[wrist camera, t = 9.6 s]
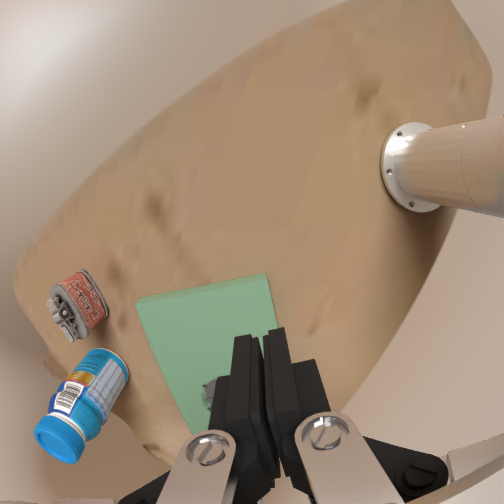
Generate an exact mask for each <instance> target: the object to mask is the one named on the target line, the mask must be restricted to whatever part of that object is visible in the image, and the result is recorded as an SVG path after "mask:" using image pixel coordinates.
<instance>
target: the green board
mask: <svg viewBox="0 0 504 504" xmlns="http://www.w3.org/2000/svg"><path fill="white" fill-rule="evenodd" d="M135 306H136V309H137V312H138V315H139V317H140V320H141V323H142V325H143V328H144V330H145V333H146V336H147V338H148V341H149V343H150V345H151V348H152V350H153V353H154V355H155V357H156V360H157V362H158V364H159V367H160V369H161V371H162V374H163V376H164V378H165V380H166V382H167V385H168V387H169V389H170V391H171V393H172V395H173V397H174V399H175V401H176V403H177V406H178V408H179V410H180V412H181V414H182V415H183V417H184V419H185V421H186V423H187V425H188V427H189V429H190V431H191V433H192V435H194V434H196V433H198V432H202V431H205V430H208V425H209V420H210V414H211V408H212V402H213V396H214V390H215V385H216V380H217V377H219V376H226V375H230V371H231V363H232V354H233V345H234V338H235V337H236V336H241V335H247V334H251V335H252V338H253V337H258V338H259V342H260V346H261V350H262V354H263V358H264V353H263V336H264V335H268V330H272V329H277V328H278V325H277V321H276V316H275V311H274V307H273V302H272V297H271V293H270V288H269V283H268V279H267V274H266V273H263V274H258V275H253V276H248V277H243V278H239V279H234V280H229V281H224V282H219V283H214V284H209V285H204V286H199V287H194V288H189V289H184V290H178V291H173V292H168V293H163V294H158V295H152V296H147V297H142V298H140V299H139V300H138V301H137V303H136V304H135Z"/></svg>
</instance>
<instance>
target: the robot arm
mask: <svg viewBox="0 0 504 504" xmlns="http://www.w3.org/2000/svg"><path fill="white" fill-rule="evenodd" d="M397 134H398V136H397ZM387 171H388V173H387ZM381 172H382V177H383V180H384V183H385V186H386V188H387V190H388V192H389V193H390V194H391V196H392V197H393V199H394V200H395V201H396V202H397V203H398V204H400V205H401V206H403V207H404V208H406V209H409V210H411V211H415V212H429V211H433V210H435V209H437V208H438V207H440V206H441V205H443V206H449V207H453V208H458V209H463V210H468V211H473V212H477V213H481V214H486V215H490V216H495V217H500V218H504V115H502V116H497V117H493V118H486V119H481V120H477V121H471V122H466V123H461V124H456V125H451V126H446V127H441V128H436V129H434V128H432V127H430V126H428V125H426V124H423V123H417V122H412V123H407V124H404V125H401V126H399V127H398V128H396V129H394V130H393V131H392V132H391V133H390V134H389V136H388V138H387V139H386V141H385V143H384V146H383V148H382V154H381ZM409 203H410V205H409ZM263 353H264V358H263V354H262V350H261V346H260V342H259V338H258V337H253V338H252V335H251V334H247V335H241V336H236V337H235V338H234V345H233V354H232V363H231V371H230V375H226V376H219V377H217V380H216V385H215V390H214V396H213V402H212V408H211V414H210V420H209V425H208V430H205V431H202V432H198V433H196V434H194V435H193V436H191V437H190V438H188V439H187V440H186V441H185V442H184V444H183V445H182V447H181V449H180V451H179V453H178V456H177V458H176V460H175V462H174V465H173V467H172V469H171V470H170V471H168V472H166V473H165V474H163V475H162V476H160V477H158V478H157V479H155V480H153V481H152V482H150V483H148V484H147V485H145V486H143V487H142V488H140V489H138V490H136V491H134V492H133V493H131V494H129V495H127V496H126V497H124V498H123V499H121V500H120V501H118V502H117V501H116V500H115V499H79V498H59V499H57V500H55V501H54V502H53V503H52V504H262V497H264V496H265V495H266V494H267V493H268V492H269V491H270V488H275V481H274V479H275V478H280V477H281V473H280V461H279V457H280V460H281V463H282V466H283V469H284V472H285V475H286V477H288V476H290V478H291V481H292V484H293V487H294V488H296V489H298V490H300V491H302V492H304V493H305V494H307V495H308V498H309V501H310V504H504V433H503V434H500V435H498V436H495V437H492V438H490V439H487V440H484V441H482V442H479V443H476V444H473V445H469V446H466V447H463V448H460V449H456V450H453V451H449V452H448V454H447V455H446V456H443V457H436V456H434V455H431V454H426V453H422V452H418V451H414V450H410V449H406V448H402V447H398V446H395V445H391V444H388V443H384V442H381V441H377V440H374V439H371V438H368V437H365V436H362V435H361V433H360V432H359V430H358V428H357V427H356V425H355V424H354V422H353V421H352V420H351V419H350V418H349V417H348V416H346V415H344V414H342V413H338V412H331V410H330V406H329V403H328V400H327V397H326V393H325V390H324V387H323V384H322V380H321V377H320V374H319V371H318V368H317V365H316V362H315V359H311V360H307V361H303V362H298V363H293V364H291V359H290V354H289V349H288V344H287V339H286V334H285V329H284V327H282V328H277V329H272V330H268V335H264V336H263ZM0 504H36V503H30V502H23V501H0Z"/></svg>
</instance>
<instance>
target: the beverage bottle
mask: <svg viewBox="0 0 504 504" xmlns="http://www.w3.org/2000/svg"><path fill="white" fill-rule="evenodd" d="M128 378H129V372H128V369H127V366H126V364H125V363H124V361H123V360H122V359H121V358H120V357H119V356H118V355H117V354H116V353H114V352H113V351H111V350H108V349H105V348H94V349H92V350H90V351H89V352H88V353H87V355H86V356H85V357H84V359H83V360H82V361H81V362H80V363H79V365H78V366H77V367H76V368H75V369H74V370H73V372H72V373H71V374H70V375H69V376H68V377H67V379H66V380H65V381H63V382H62V383H61V384H60V386H59V387H58V390H57V393H55V394H54V395H53V396H52V397H51V399H50V402H49V414H48V415H46V416H44V417H43V418H42V419H41V420H40V422H39V423H38V425H37V426H36V427H35V430H34V436H35V438H36V440H37V442H38V443H39V444H40V446H41V447H42V448H43V449H44V450H45V451H46V452H48V453H49V454H50V455H52V456H53V457H55V458H56V459H58V460H60V461H62V462H65V463H69V464H74V463H76V462H77V461H78V460H79V458H80V457H81V455H82V453H83V451H84V449H85V442H86V441H89V440H91V439H93V438H94V437H96V436H97V435H98V434H99V432H100V430H101V426H102V425H104V424H105V423H106V421H107V419H108V417H109V413H110V411H111V409H112V407H113V405H114V403H115V402H116V400H117V398H118V396H119V394H120V392H121V391H122V389H123V388H124V386H125V385H126V383H127V381H128Z"/></svg>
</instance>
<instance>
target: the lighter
mask: <svg viewBox="0 0 504 504" xmlns="http://www.w3.org/2000/svg"><path fill="white" fill-rule="evenodd" d="M50 296H51V299H50V300H48V301H47V305H48V307H49V309H50V310H51V312H52V320H53V321H54V323H56V324H59V325H60V327H61V329H62V331H63V332H64V334H65V335H66V337H67V339H68V340H69V341H70V342H75V341H76V340H77V339H81V340H82V339H85V338H86V337H87V336H88V334H89V332H90V331H91V330H92V329H93V328H94V327H95V326H96V325H97V324H98V323H99V322H100V321H101V319H103V318H105V317H106V316H107V315H108V314H109V307H108V305H107V303H106V300H105V298H104V296H103V294H102V292H101V290H100V288H99V287H98V285H97V284H96V282H95V281H94V279H93V278H92V277H91V275H90V274H89V273H88V272H87V271H86V270H84V269H81V270H79V271H77V272H76V273H75V275H73V276H71V277H70V278H68V279H66V280H65V281H63V282H61V283H60V284H56V285H54V286H53V287H52V288H51V289H50Z"/></svg>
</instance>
